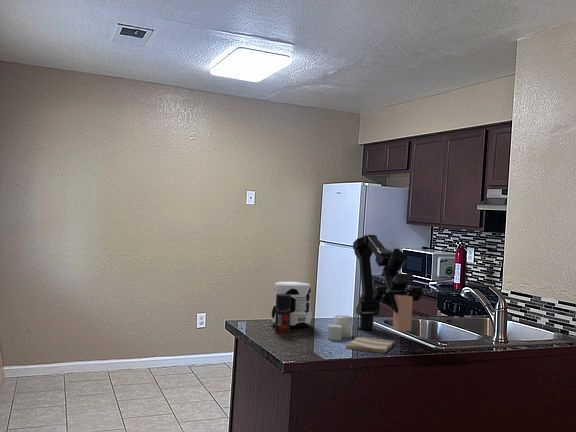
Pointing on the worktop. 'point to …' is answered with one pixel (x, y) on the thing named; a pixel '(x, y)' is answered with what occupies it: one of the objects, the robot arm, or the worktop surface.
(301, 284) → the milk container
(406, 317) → the tan rectangular block
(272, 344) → the worktop surface
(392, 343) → the board
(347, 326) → the pale grey cylinder
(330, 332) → the block
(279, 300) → the deodorant
